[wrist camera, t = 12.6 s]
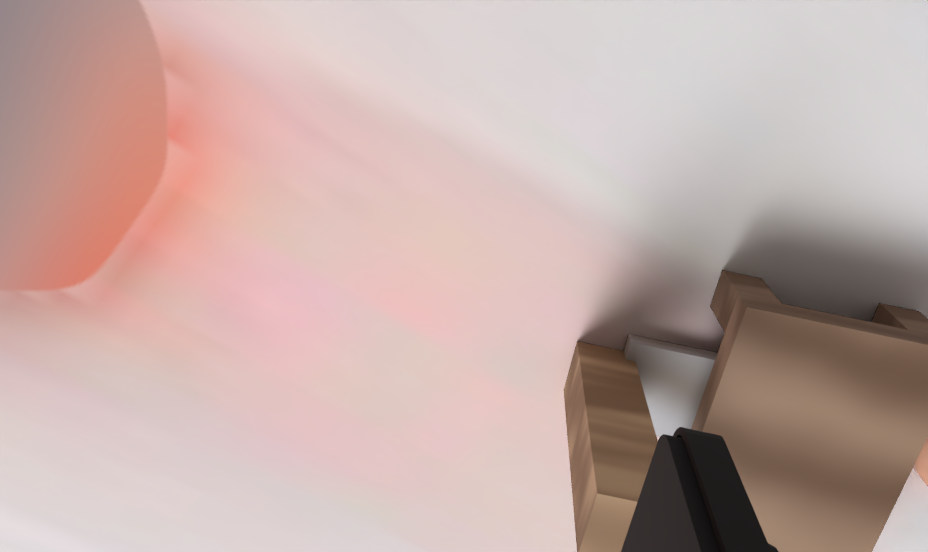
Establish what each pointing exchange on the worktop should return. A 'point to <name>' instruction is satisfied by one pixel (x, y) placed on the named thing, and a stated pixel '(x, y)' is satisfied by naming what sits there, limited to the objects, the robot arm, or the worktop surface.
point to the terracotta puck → (922, 463)
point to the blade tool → (624, 426)
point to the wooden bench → (817, 413)
